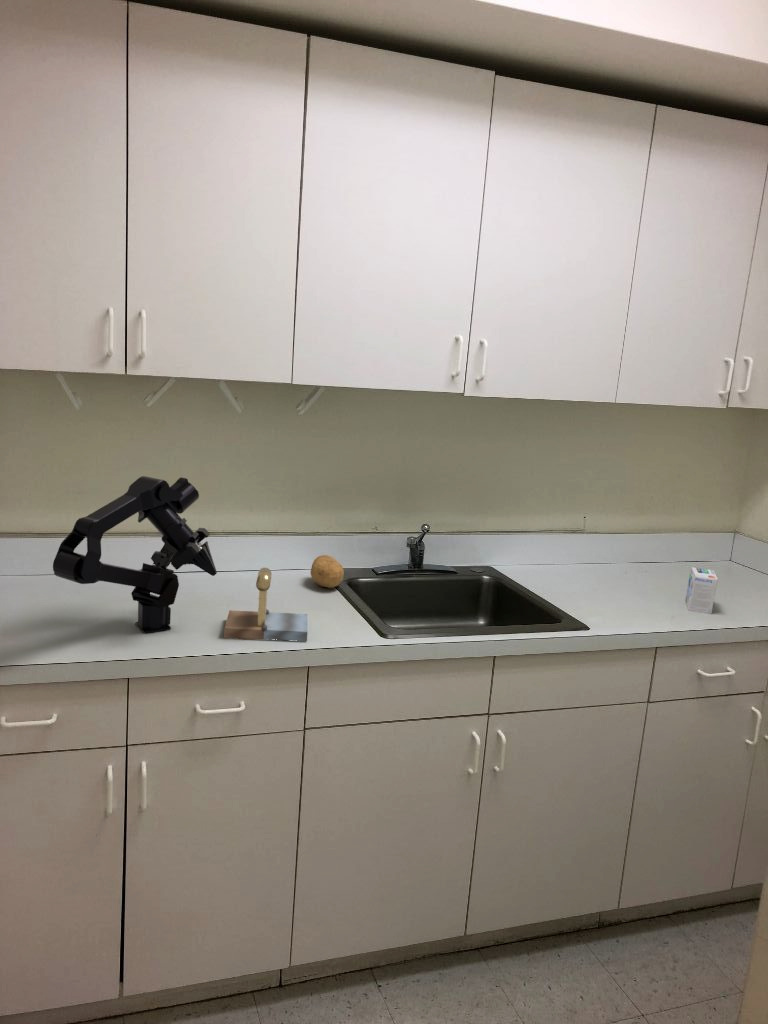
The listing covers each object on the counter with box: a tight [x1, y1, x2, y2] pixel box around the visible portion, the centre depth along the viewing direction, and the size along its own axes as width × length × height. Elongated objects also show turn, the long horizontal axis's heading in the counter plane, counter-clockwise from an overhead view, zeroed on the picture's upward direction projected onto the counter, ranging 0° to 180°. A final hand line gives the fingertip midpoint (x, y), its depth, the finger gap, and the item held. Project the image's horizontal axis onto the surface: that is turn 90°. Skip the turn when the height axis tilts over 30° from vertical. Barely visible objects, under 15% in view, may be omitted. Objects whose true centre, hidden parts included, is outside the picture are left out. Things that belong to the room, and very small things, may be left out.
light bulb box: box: [684, 566, 719, 615], centre depth 240 cm, size 11×7×11 cm, turn 165°
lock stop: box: [255, 567, 272, 626], centre depth 191 cm, size 3×8×12 cm, turn 6°
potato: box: [310, 554, 345, 589], centre depth 230 cm, size 10×14×8 cm
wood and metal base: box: [223, 608, 308, 642], centre depth 193 cm, size 19×12×3 cm, turn 96°
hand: (215, 574), depth 189 cm, fingers closed
